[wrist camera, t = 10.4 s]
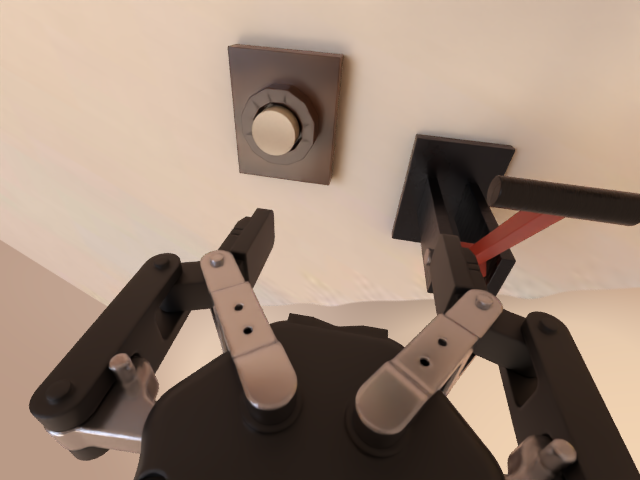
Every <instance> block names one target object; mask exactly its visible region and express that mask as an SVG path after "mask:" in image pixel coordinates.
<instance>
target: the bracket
mask: <svg viewBox="0 0 640 480" xmlns="http://www.w3.org/2000/svg"><path fill="white" fill-rule="evenodd" d="M514 152H515V149H514V148H513V147H512V146H509V145H501V144H493V143H484V142H476V141H468V140H460V139H451V138H443V137H435V136H427V135H418V134H417V135H416V138H415V142H414V146H413V150H412V154H411V158H410V162H409V166H408V170H407V174H406V178H405V182H404V186H403V190H402V194H401V198H400V202H399V206H398V210H397V214H396V218H395V222H394V226H393V230H392V238H393V239H400V240H406V241H413V242H419V243H421V247H422V255H423V262H424V270H425V278H426V285H427V292H428V293H433V288H432V281H431V275H430V263H431V259H432V256H433V253H434V250H435V247H436V244H437V241H438V238H439V236H440V234H448V235H456V236H458V237H459V240H460V242H466V243H473V244H475V243H476V242H478V241H479V240H481V239H482V238H483V237H485V236H486V235H488V234H489V233H490V232H492V231H493V230H494V229H496V228H497V227H499V226H498V224H497V222H496V220H495V218H494V216H493V214H492V212H491V210H490V208H489V207H490V206H489V205H488V203H487V193H488V189H489V186H490V183H491V181H492V180H493V178H494V177H495V176H498V175H500V176H504V174H505V172H506V170H507V168H508V165H509V163H510V161H511V159H512V156H513V154H514ZM515 262H516V260H515V258H514V256H513V254H512V252H511V250H510V248H509V249H507V250H505V251H504V252H502V253H500V254H498V255H496V256H495V257H493V258H491V259H489V260H487V261H486V276H485V277H483V278H484V281H485V284H486V286H487V289H488V292H489V293H491V294H493V295H494V296H496V295H497V293H498V292H499V290H500V288H501V286H502V285H503V283H504V281H505V280H506V278H507V276H508V274H509V273H510V271H511V269H512V267H513V266H514V264H515Z"/></svg>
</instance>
